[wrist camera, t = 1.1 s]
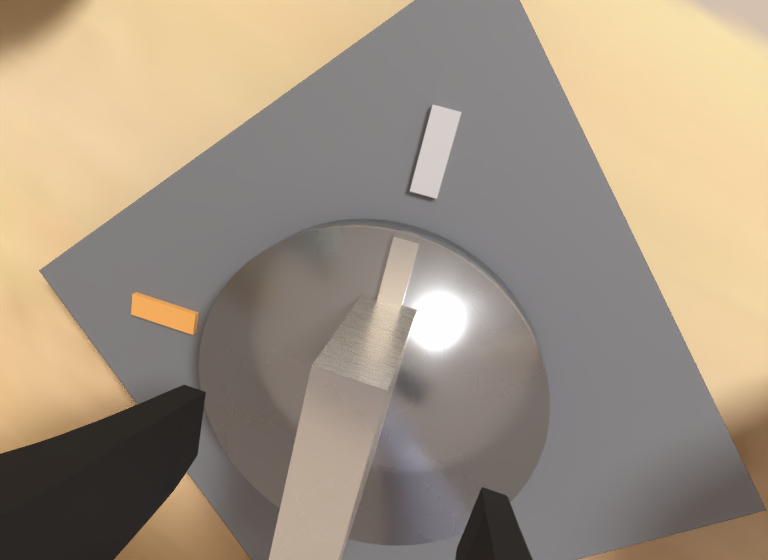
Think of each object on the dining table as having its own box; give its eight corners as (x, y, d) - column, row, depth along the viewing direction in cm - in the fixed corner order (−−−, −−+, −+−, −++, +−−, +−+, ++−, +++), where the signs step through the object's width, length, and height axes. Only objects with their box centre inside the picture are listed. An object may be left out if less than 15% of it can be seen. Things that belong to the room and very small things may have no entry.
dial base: (742, 477, 16) (769, 515, 15) (315, 598, 22) (301, 635, 21) (492, -37, 13) (492, -59, 12) (71, 259, 19) (34, 272, 18)
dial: (481, 560, 17) (479, 746, 12) (201, 458, 19) (90, 590, 13) (603, 281, 14) (674, 380, 8) (240, 175, 15) (106, 205, 10)
